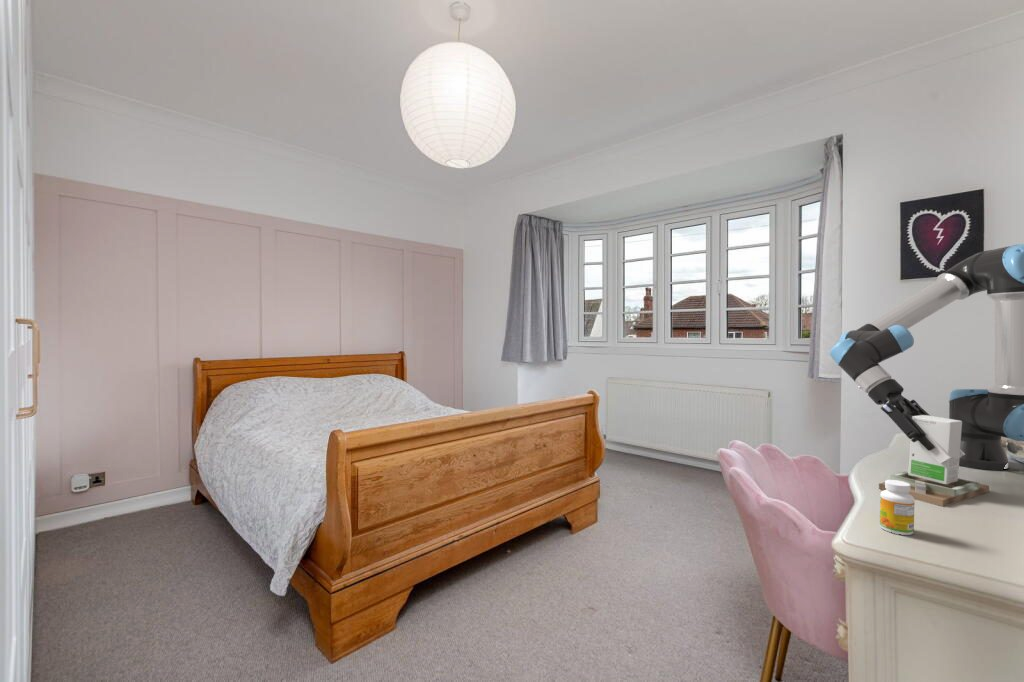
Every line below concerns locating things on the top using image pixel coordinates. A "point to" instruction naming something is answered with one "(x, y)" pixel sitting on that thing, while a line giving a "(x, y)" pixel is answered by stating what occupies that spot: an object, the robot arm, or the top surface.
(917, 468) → the skincare box
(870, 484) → the top surface
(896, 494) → the supplement bottle
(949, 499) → the board
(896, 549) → the top surface
